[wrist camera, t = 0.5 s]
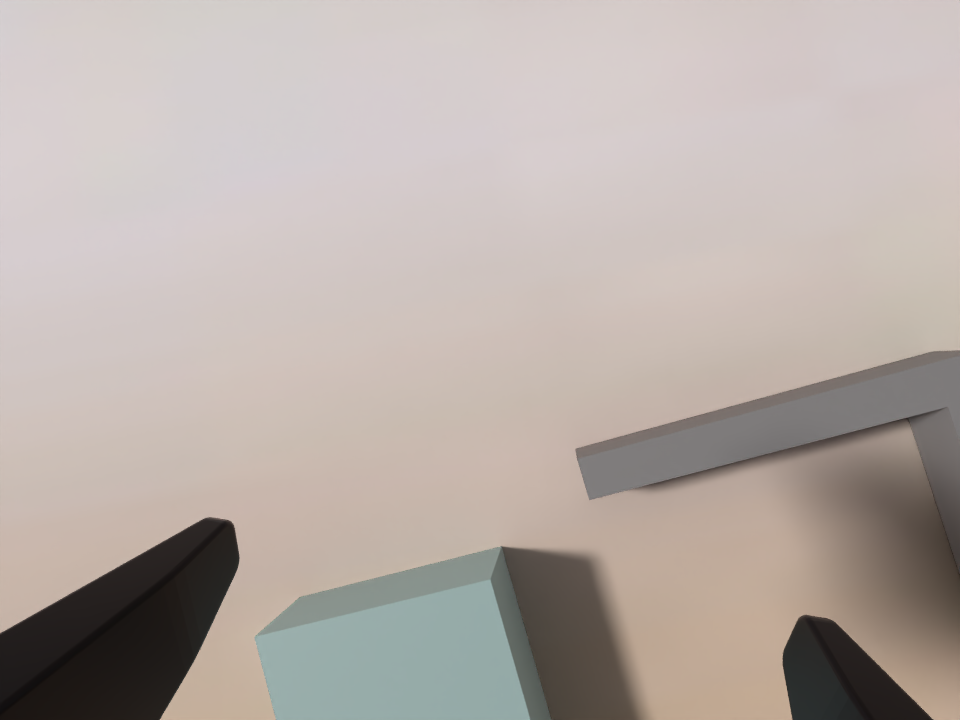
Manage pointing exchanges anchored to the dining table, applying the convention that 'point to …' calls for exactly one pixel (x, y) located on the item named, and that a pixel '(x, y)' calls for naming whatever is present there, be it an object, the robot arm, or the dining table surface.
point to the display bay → (802, 430)
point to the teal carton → (406, 648)
